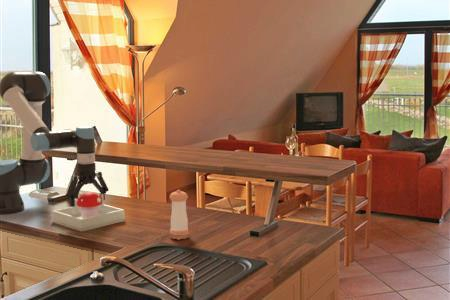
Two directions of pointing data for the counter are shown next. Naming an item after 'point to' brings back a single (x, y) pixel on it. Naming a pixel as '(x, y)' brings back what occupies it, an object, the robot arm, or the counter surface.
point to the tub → (88, 218)
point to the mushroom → (88, 204)
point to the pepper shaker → (179, 213)
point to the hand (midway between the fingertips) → (88, 210)
